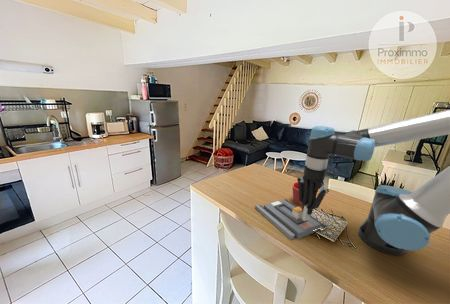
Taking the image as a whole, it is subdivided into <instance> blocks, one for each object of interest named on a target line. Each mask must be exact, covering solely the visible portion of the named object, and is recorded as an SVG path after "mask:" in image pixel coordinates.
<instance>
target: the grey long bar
mask: <svg viewBox="0 0 450 304" xmlns="http://www.w3.org/2000/svg"><path fill="white" fill-rule="evenodd" d="M254 208H255V210H256V211H257V212H259V213H260V214H261V215H262V216H263V217H264V218H265V219H266V220H268V221H269V222H270V224H272V225H274V226H275V228H277V229H278V230H279V231H280V232H281V233H282V234H283V235H285V236H286V237H287V238H288V239H289V240H294V239H297V238H296V236H297V235H296V234H295V233H294V232H293V231H291V230H290V229H289V228H288V227H286V226H285V225H284V224H283V223H282V222H280V221H279V220H278V219H277V218H275V217H274V216H273V215H272V214H271V213H269V212H268V211H267V210H266V209H264V206H262V205H261V204H255V205H254Z"/></svg>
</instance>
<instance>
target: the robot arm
mask: <svg viewBox="0 0 450 304" xmlns="http://www.w3.org/2000/svg"><path fill="white" fill-rule="evenodd" d="M447 135H450V109H446V110H441V111H435V112H432V113H428V114H424V115H419V116H415V117H411V118H407V119H403V120H402V119H401V120H397V121H394V122H390V123H386V124H381V125H377V126H371V127H367V128H363V129H359V130H355V129H354V130H351V131H347V132H346V133H345V134H337V133H336V132H335V128H334V127H329V126H318V125H317V126H316V125H315V126H313V127H312V128H311V131H310V135H309V139H308V145H307V146H308V147H307V153H306V157H305V162H304V163H305V166H304V170H303V176H301V177H298V178H297V179H296V180H297V182H298V184H299V201H301V202H302V203H303V206H301V209H302V211H303V215H302V220H304V221H306V220H309V217H310V215H311V216H312V214H313V210H316V209H318V208H319V207H320V205H321V203H322V202H323V200H324V198H325V196H326V194H328V193H329V192H330V190H329V188H326V187H325V186H324V185H325V183H324V180H325V177H326V174H327V170H326V169H327V167H328V163H329V158H330V155H332V156H335V157H340V158H341V157H342V158H347V159H351V160H356V161H364V162H368V161H370V160H371V159H372V157H373V155H374V151H375V148H377V147H384V146H389V145H396V144H401V143H407V142H413V141H417V140H418V141H419V140H424V139H429V138H435V137H441V136H447ZM318 192H319V193H318ZM448 215H450V165H449V166H448V167H446V168H444V169H443V170H441V171H440V172H439V173H437V174H436V175H435V176H433V177H432V178H431V179H430V180H428V181H427V182H425V183H424V184H422V185H421V186H419V187H418V188H417V189H416V190H414V191H410V190H407V189H404V188H402V187H401V188H400V187H396V186H392V185H386V184H381V185H378V186H377V187H376V189H375V191H374V196H373V200H372V203H371V206H370V209H369V213H368V215H367V218H365V220H364V221H363V222H362V223H361V224H360V225H359V227H358V231H357V233H358V236H359V237H360V239H361V240H362V241H363V242H364V243H365V244H367V245H368V246H370V247H371V248H373V249H374V250H377V251H378V252H381V253H385V254H388V255H391V256H402V255H405V253H406V252H407V251H419V250H423V249H424V248H425V247H427V246H428V245H429V244H430V239H431V235H430V234H432V233H434V232H436V231H437V230H439V229H440V228H442V227H443V218H445V217H446V216H448Z"/></svg>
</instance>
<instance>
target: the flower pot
mask: <svg viewBox="0 0 450 304" xmlns="http://www.w3.org/2000/svg"><path fill="white" fill-rule="evenodd" d="M292 200H293V204H294V205H296V206H298V207H303V203H302V202H301V201H299V184H298V181H297V182H294V183H292Z"/></svg>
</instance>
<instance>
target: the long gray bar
mask: <svg viewBox="0 0 450 304" xmlns="http://www.w3.org/2000/svg"><path fill="white" fill-rule="evenodd" d="M284 200H285V201H287V202H288V203H290V204H291V205H293V206H294V207H298V205H296V204H295V203H292V202H290V201H289V200H288V199H286V198H284ZM310 217H311V218H312V219H314V220H315V221H317V222H318V223H320V224H321V225H320V228H321V229H323V228H325V227H326V228H327V225H326V224H325V223H323V222H321V220H318V219H317V218H315V217H313V215H312V214H311V215H310Z"/></svg>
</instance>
